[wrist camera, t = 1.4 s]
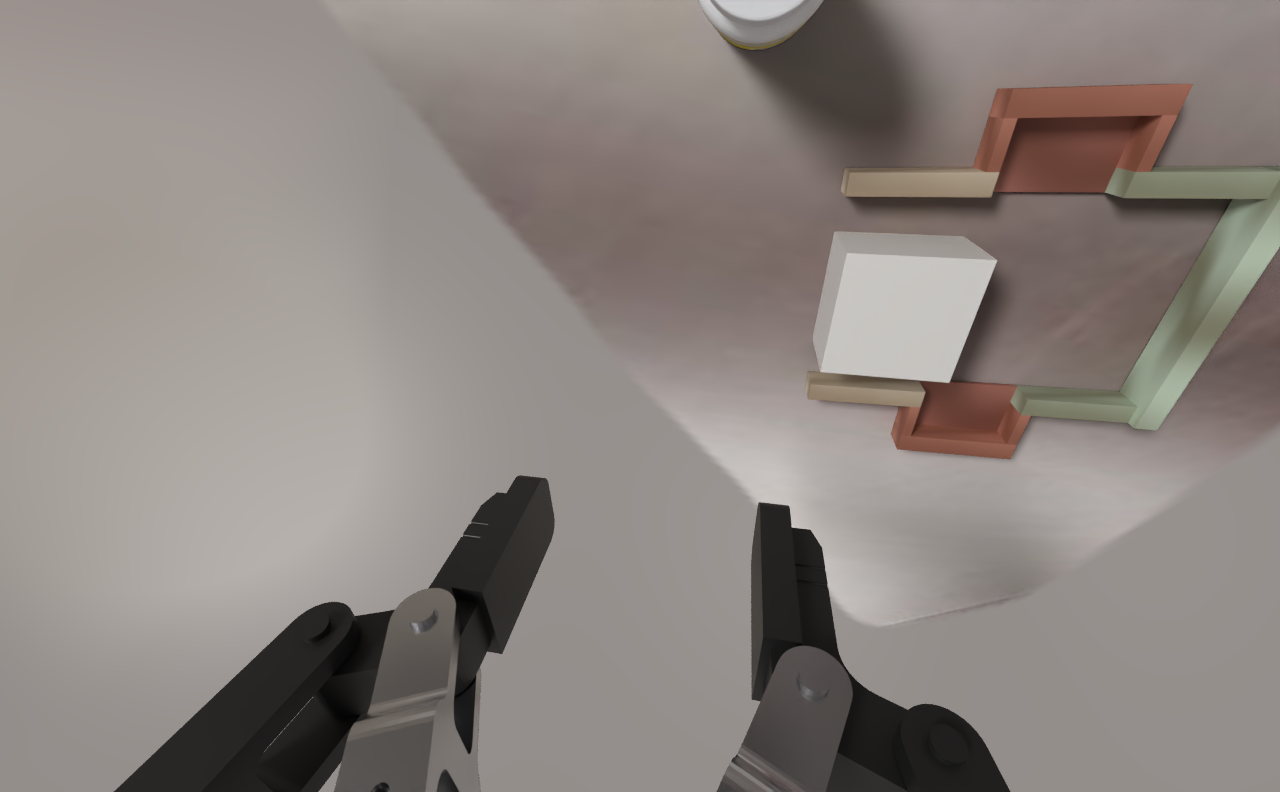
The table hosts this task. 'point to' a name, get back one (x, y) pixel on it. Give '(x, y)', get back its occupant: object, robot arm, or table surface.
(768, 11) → the supplement bottle
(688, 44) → the table surface
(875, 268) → the grey block
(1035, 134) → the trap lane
